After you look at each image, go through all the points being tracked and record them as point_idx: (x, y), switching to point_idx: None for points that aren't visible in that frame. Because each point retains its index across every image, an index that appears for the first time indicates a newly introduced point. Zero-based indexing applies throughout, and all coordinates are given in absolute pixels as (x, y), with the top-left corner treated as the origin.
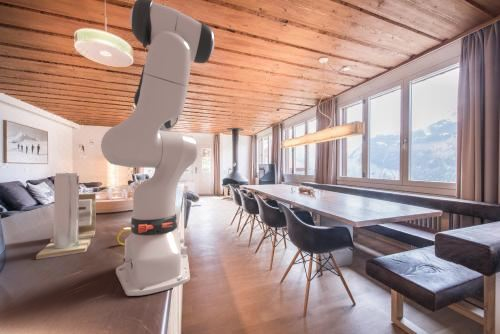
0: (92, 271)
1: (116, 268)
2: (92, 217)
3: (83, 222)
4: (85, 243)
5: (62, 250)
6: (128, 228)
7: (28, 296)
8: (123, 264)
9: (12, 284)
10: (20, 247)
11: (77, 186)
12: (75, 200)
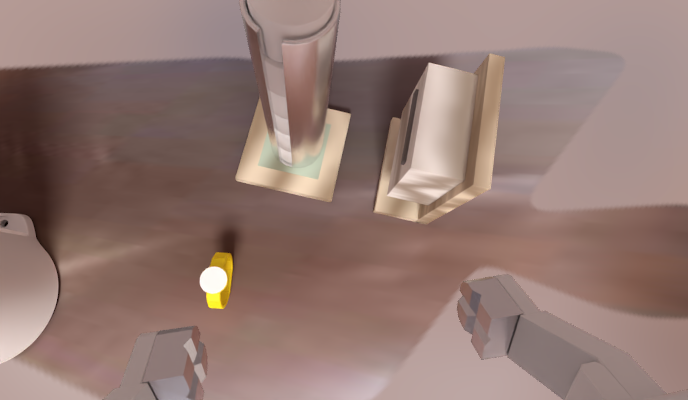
0: (80, 178)
1: (17, 214)
2: (434, 202)
3: (392, 174)
4: (283, 182)
5: (259, 135)
6: (207, 282)
7: (55, 89)
8: (26, 231)
9: (138, 69)
10: (392, 71)
11: (274, 70)
12: (264, 96)
